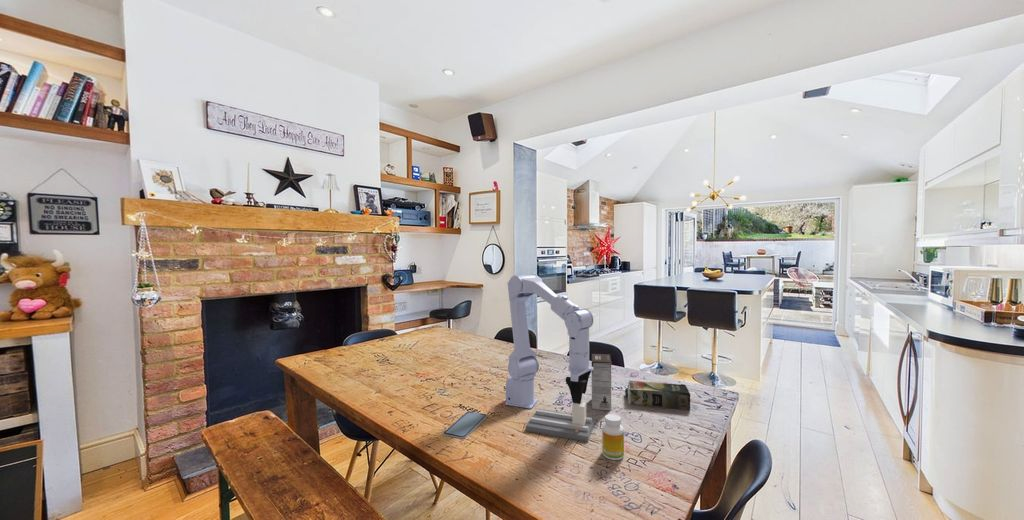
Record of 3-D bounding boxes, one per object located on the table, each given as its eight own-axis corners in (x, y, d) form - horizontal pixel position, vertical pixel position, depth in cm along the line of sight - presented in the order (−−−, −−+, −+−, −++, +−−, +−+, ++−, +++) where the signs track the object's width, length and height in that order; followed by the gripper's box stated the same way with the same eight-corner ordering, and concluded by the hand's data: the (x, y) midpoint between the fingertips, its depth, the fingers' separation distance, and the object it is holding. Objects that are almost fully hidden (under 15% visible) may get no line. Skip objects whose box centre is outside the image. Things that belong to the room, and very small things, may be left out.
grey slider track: (525, 430, 106) (525, 422, 106) (538, 413, 118) (538, 405, 117) (588, 442, 100) (588, 433, 100) (594, 422, 111) (594, 414, 111)
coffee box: (591, 398, 129) (591, 353, 129) (610, 399, 128) (610, 354, 127) (591, 409, 120) (591, 360, 120) (612, 411, 119) (611, 362, 118)
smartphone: (441, 433, 105) (467, 410, 118) (441, 436, 105) (467, 413, 119) (464, 438, 102) (488, 414, 116) (464, 441, 102) (488, 417, 116)
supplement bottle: (626, 461, 91) (626, 422, 90) (604, 460, 91) (604, 422, 91) (620, 449, 96) (620, 412, 96) (600, 449, 96) (599, 412, 96)
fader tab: (572, 425, 105) (572, 405, 105) (575, 419, 109) (574, 400, 109) (584, 427, 104) (583, 407, 104) (586, 421, 108) (586, 402, 108)
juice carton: (625, 405, 124) (625, 387, 124) (624, 394, 133) (624, 377, 133) (690, 412, 118) (691, 393, 118) (684, 400, 128) (685, 383, 128)
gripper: (588, 359, 98) (588, 410, 98) (596, 346, 111) (597, 390, 112) (562, 357, 100) (563, 406, 101) (573, 344, 114) (574, 387, 114)
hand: (579, 397), depth 106 cm, fingers open, 7 cm apart
